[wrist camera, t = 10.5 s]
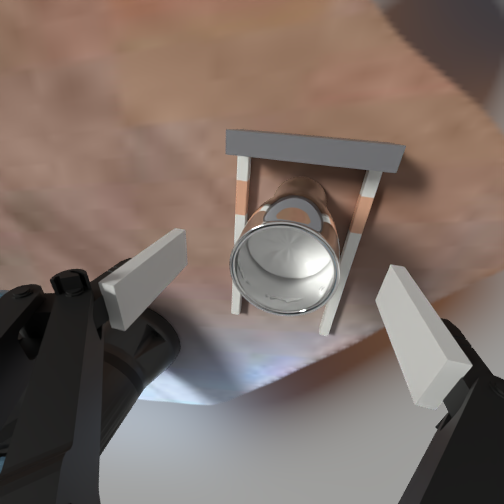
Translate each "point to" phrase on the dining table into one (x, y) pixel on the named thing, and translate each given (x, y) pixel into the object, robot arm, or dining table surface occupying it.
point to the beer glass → (288, 251)
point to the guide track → (322, 153)
